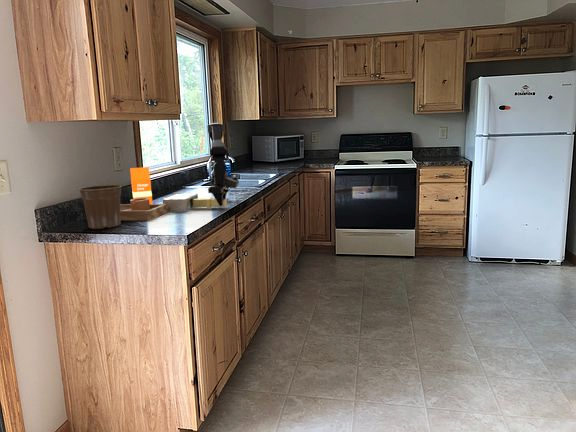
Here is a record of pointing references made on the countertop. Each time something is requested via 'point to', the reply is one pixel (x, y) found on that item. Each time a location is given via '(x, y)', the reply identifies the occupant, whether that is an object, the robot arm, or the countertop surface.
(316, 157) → the countertop surface
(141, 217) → the tray
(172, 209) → the white rectangular box
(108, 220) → the plant pot
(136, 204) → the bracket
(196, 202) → the end cover
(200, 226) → the countertop surface
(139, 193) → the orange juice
